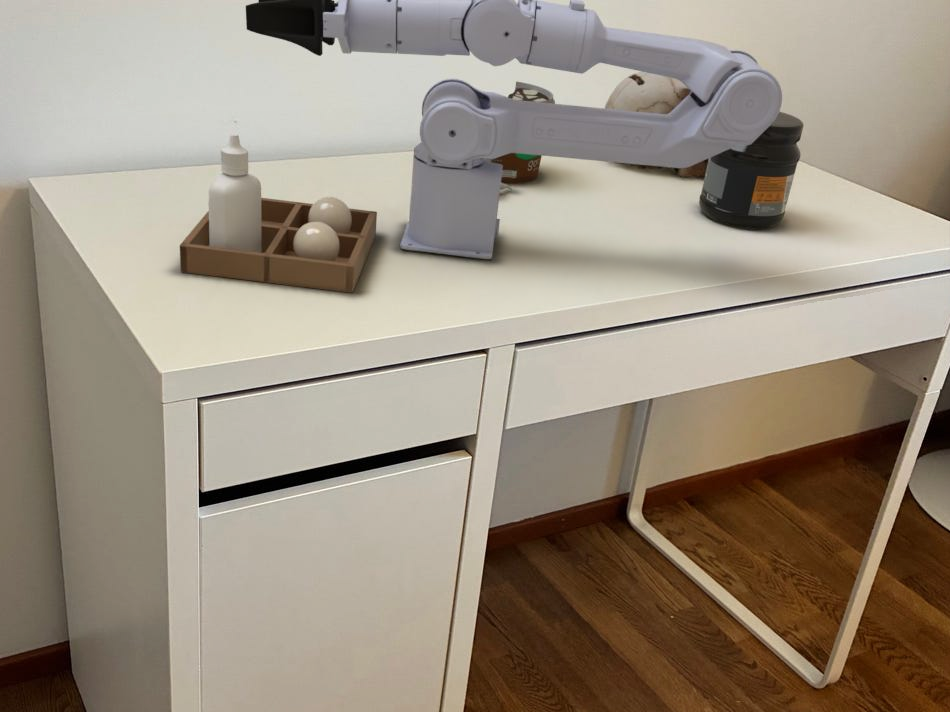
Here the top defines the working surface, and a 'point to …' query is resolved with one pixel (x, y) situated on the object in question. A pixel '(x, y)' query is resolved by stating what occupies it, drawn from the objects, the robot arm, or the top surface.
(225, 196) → the eye dropper bottle
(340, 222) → the egg near left
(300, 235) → the egg near right
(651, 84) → the coin bank
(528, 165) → the food container
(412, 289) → the top surface
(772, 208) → the supplement container
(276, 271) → the wooden compartment tray
